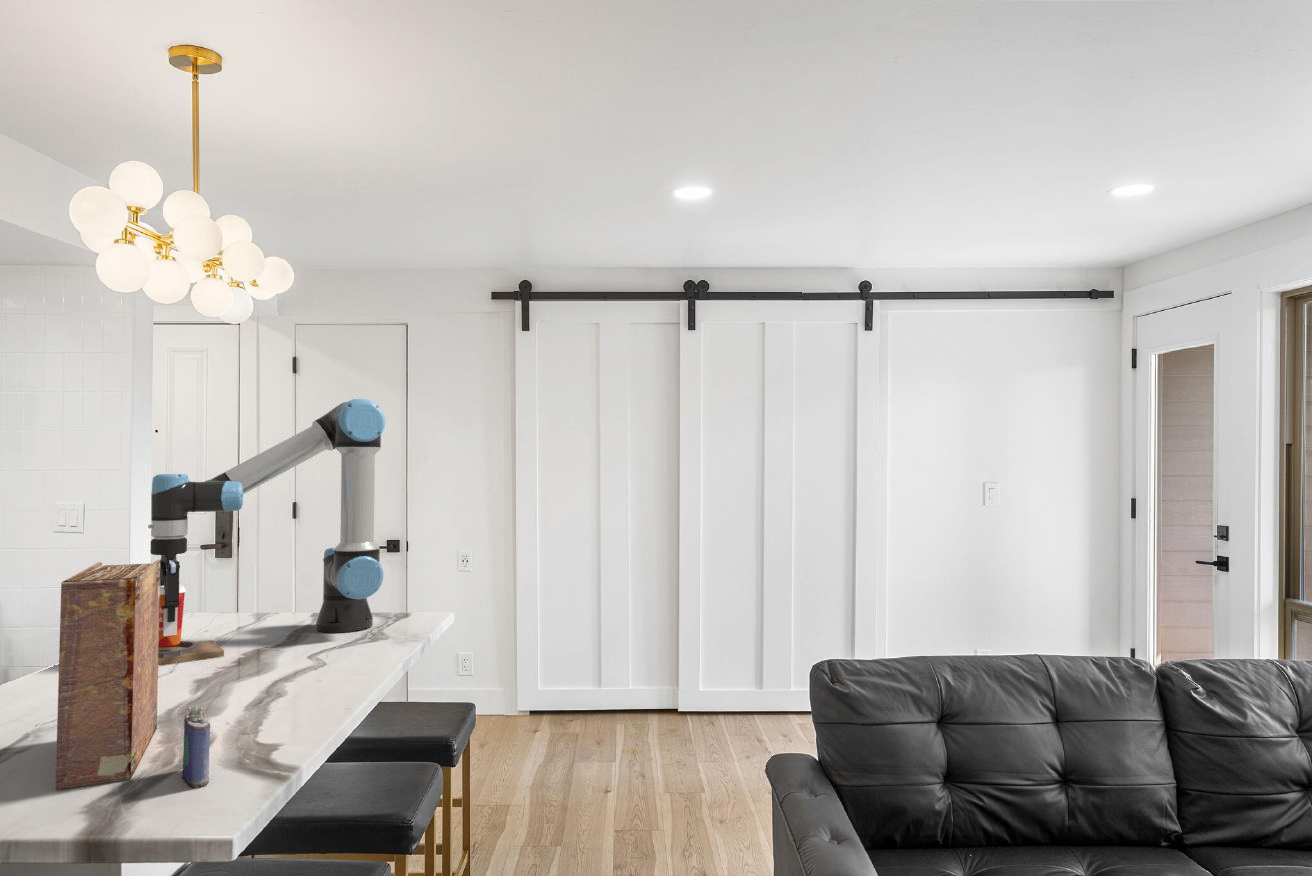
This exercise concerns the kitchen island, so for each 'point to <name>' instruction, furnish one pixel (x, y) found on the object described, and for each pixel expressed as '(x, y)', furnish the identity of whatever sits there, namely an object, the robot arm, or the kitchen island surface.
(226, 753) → the kitchen island surface
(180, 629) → the paper cup
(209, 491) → the robot arm
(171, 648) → the seat board
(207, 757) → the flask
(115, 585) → the book
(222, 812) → the kitchen island surface
